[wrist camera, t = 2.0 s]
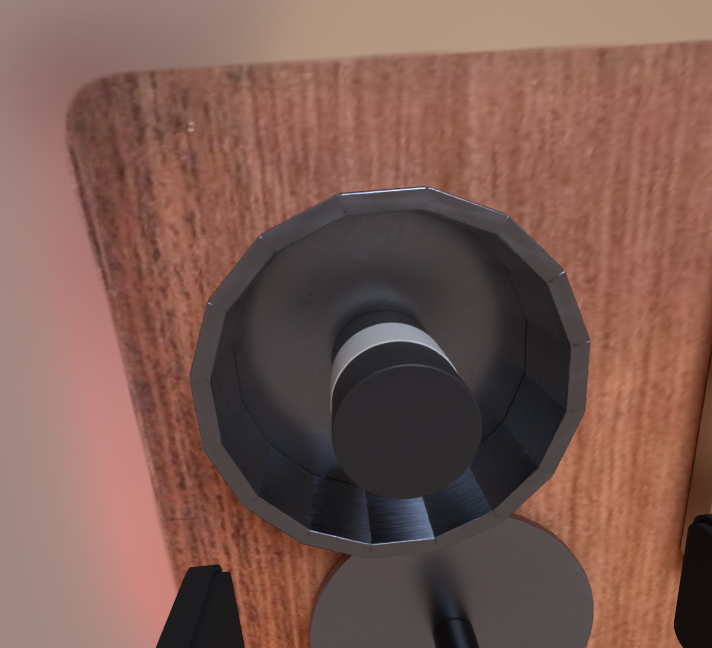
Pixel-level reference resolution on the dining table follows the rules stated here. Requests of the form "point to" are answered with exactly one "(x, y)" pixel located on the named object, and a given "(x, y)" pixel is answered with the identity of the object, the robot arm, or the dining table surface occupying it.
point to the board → (701, 466)
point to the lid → (460, 596)
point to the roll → (399, 408)
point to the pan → (441, 321)
